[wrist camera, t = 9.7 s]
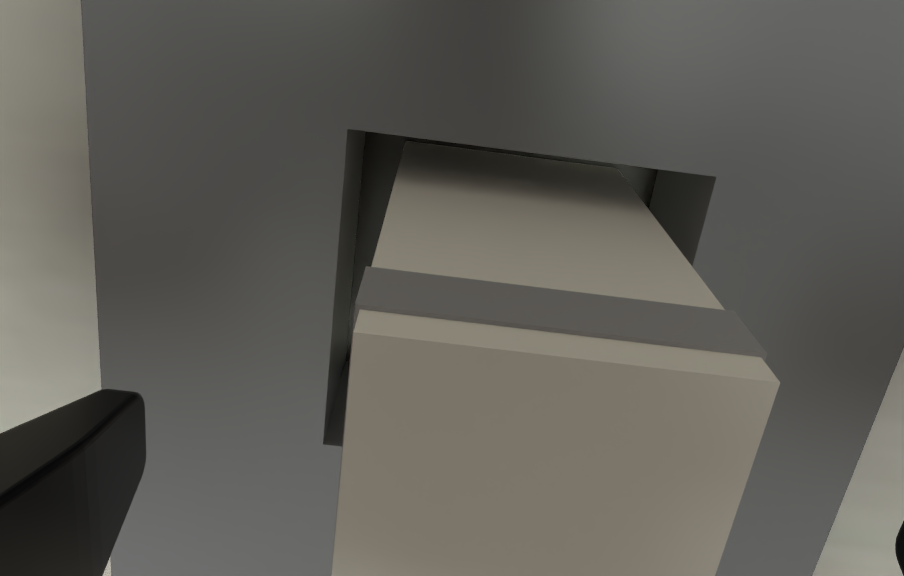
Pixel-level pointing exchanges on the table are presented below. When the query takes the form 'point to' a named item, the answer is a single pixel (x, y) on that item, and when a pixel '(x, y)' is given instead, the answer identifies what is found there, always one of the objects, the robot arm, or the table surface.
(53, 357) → the table surface
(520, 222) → the plug
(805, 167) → the socket block
